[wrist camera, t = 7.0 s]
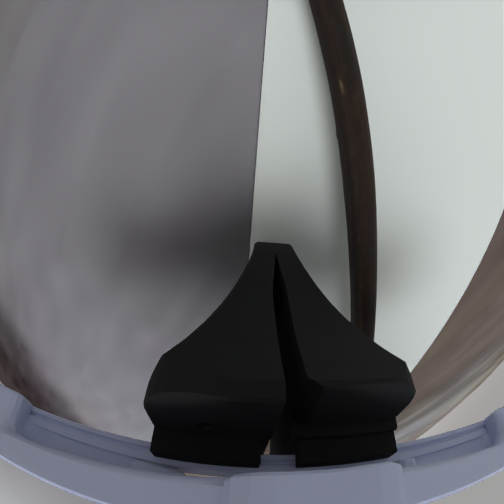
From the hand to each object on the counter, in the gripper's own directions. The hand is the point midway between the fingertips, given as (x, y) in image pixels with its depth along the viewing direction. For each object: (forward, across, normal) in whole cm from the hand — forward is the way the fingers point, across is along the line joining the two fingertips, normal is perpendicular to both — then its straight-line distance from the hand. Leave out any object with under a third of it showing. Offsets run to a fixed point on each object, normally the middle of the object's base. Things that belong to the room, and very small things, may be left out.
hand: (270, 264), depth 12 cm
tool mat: (+1, -5, 0) cm, 5 cm away
